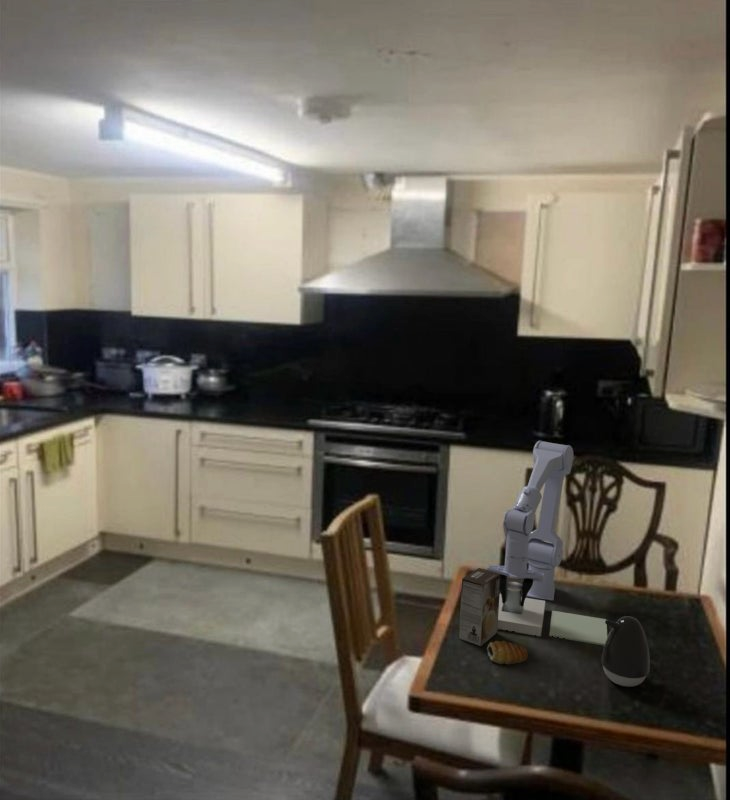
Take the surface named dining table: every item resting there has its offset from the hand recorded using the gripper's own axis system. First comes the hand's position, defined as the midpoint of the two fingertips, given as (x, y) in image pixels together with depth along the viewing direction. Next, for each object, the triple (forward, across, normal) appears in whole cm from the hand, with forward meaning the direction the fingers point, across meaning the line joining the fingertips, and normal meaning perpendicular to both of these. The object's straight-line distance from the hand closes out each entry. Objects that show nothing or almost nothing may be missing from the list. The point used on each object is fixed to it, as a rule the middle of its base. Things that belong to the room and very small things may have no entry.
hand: (513, 603), depth 188 cm
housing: (+4, 0, 0) cm, 4 cm away
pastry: (+4, 0, -21) cm, 22 cm away
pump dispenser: (+4, +27, -22) cm, 35 cm away
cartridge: (+3, 0, 0) cm, 3 cm away
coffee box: (+4, -7, -13) cm, 16 cm away
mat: (+4, +17, 0) cm, 17 cm away
